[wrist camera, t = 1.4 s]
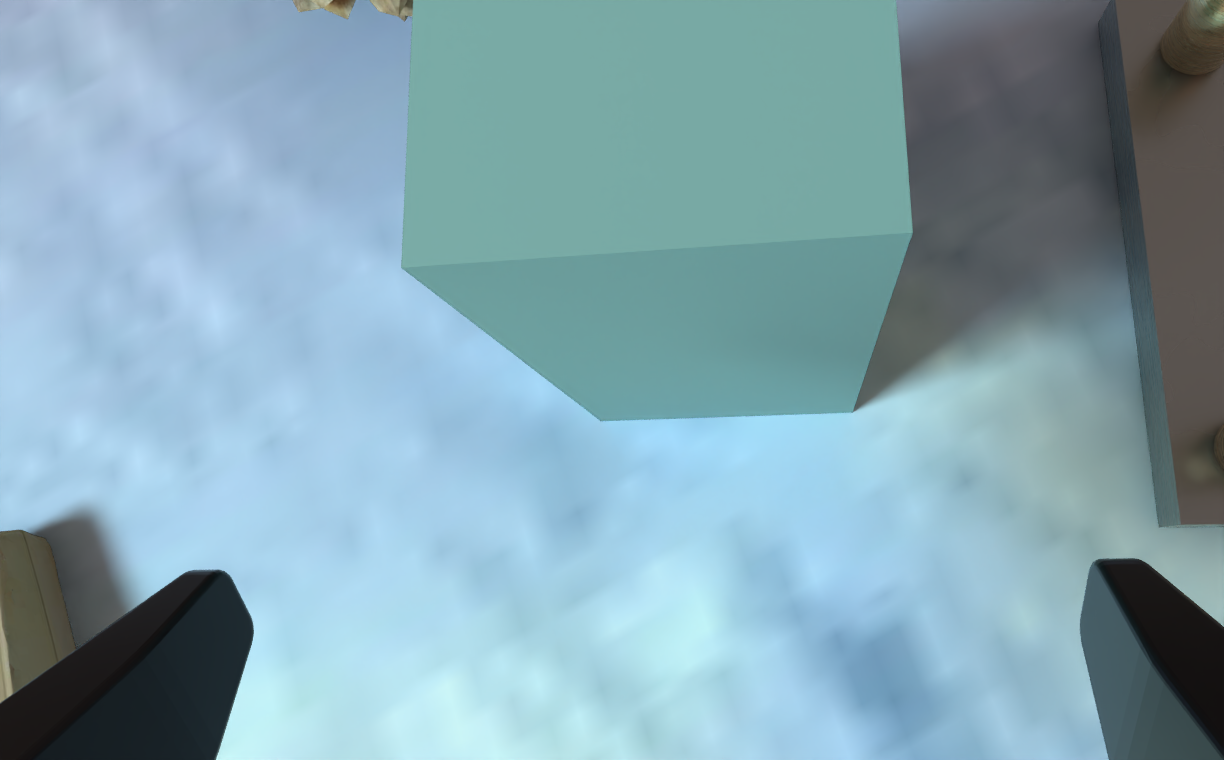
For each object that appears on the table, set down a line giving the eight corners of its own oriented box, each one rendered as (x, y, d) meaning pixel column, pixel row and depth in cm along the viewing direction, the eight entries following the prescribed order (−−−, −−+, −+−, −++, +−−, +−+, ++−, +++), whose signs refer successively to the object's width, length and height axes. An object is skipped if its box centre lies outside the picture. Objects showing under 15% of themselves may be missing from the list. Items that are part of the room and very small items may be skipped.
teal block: (839, 172, 23) (879, -229, 12) (852, 412, 22) (913, 232, 10) (600, 191, 24) (420, -156, 13) (600, 421, 23) (400, 267, 11)
